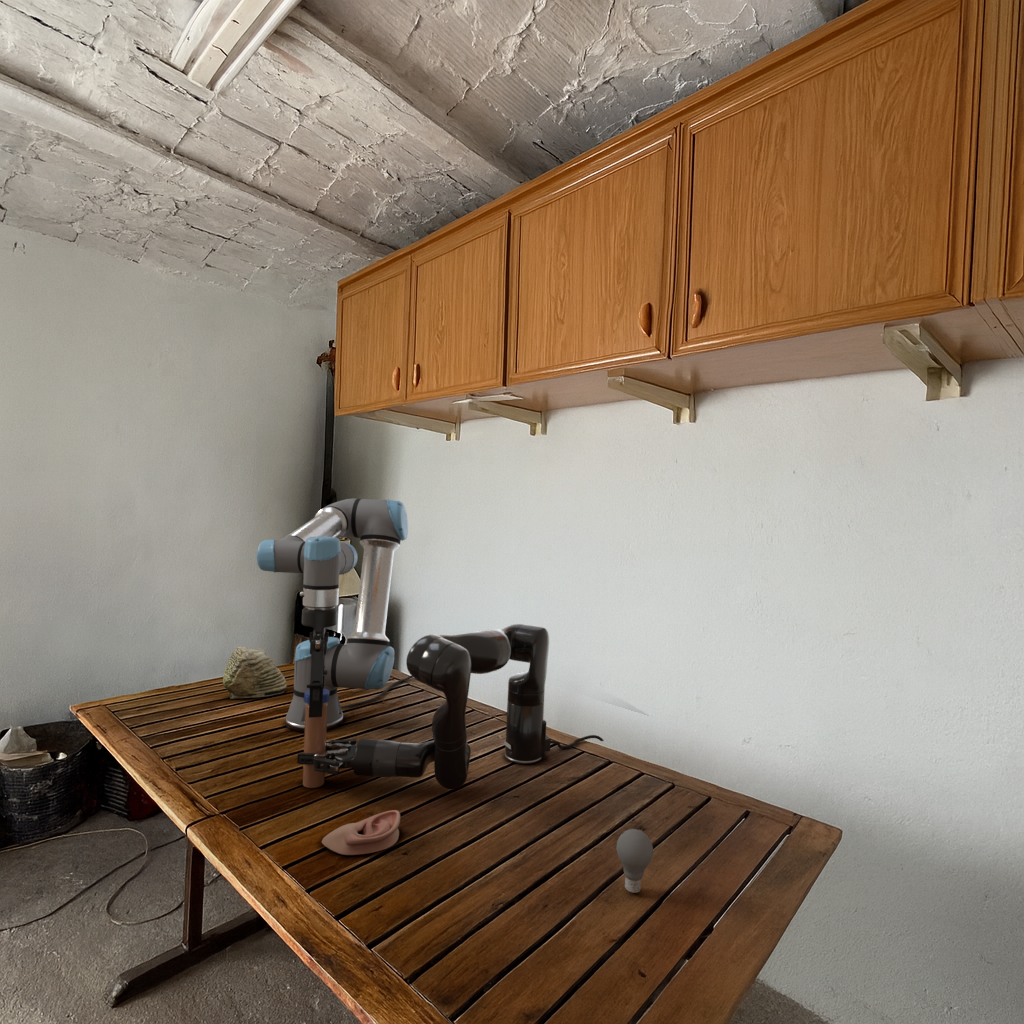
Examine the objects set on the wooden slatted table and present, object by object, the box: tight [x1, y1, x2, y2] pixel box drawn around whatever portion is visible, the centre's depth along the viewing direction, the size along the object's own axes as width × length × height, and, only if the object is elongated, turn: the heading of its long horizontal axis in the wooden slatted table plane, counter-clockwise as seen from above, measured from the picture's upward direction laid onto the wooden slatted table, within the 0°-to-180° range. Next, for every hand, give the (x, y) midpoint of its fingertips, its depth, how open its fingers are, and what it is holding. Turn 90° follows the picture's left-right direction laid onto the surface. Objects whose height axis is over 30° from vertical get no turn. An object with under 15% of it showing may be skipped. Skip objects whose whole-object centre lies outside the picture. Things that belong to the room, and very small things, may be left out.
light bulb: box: [615, 828, 654, 894], centre depth 106 cm, size 6×6×10 cm
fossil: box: [222, 646, 288, 699], centre depth 198 cm, size 9×18×15 cm, turn 132°
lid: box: [304, 689, 330, 704], centre depth 139 cm, size 5×5×2 cm
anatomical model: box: [321, 809, 401, 856], centre depth 118 cm, size 13×4×12 cm
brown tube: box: [302, 702, 328, 789], centre depth 140 cm, size 5×5×19 cm
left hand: (316, 710), depth 140 cm, fingers open, 7 cm apart
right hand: (302, 753), depth 140 cm, fingers closed on brown tube, 4 cm apart
